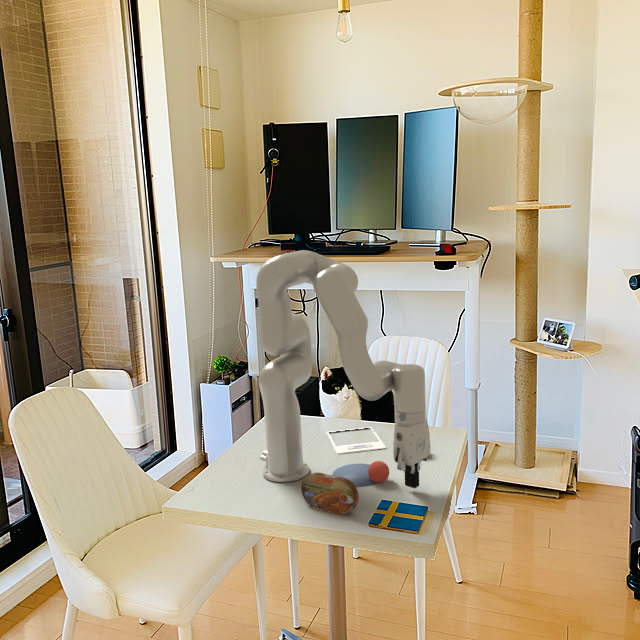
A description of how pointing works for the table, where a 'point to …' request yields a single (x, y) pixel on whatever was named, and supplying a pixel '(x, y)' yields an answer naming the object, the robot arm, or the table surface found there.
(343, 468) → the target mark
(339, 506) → the tin
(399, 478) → the table surface
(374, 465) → the ball
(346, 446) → the photo frame
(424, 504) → the table surface
